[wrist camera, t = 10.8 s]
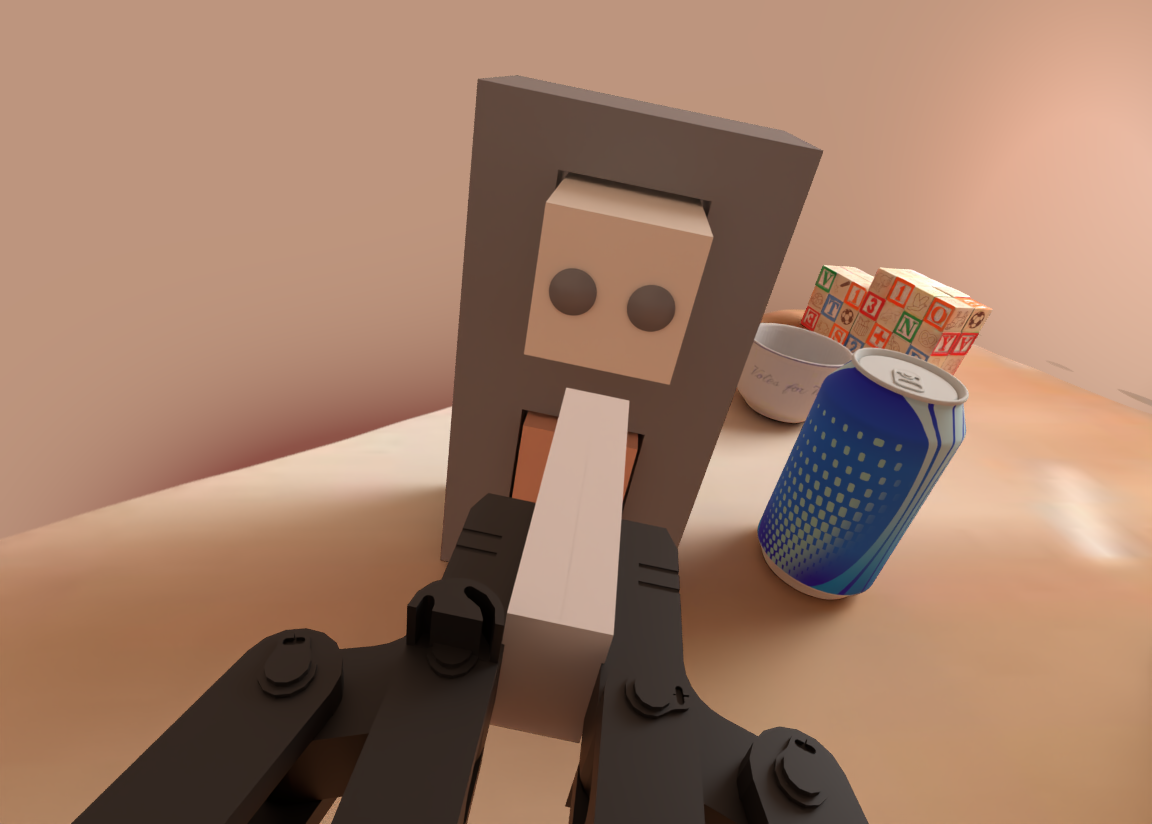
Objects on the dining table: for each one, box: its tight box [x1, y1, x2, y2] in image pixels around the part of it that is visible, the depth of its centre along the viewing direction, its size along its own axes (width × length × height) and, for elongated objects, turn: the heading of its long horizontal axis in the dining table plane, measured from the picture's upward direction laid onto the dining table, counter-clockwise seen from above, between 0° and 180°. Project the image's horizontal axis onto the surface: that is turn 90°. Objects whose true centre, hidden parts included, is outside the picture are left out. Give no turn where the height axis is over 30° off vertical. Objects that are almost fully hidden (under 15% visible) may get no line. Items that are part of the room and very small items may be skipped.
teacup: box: [737, 323, 853, 423], centre depth 61 cm, size 14×11×8 cm
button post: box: [441, 75, 823, 562], centre depth 34 cm, size 8×14×27 cm, turn 84°
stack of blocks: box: [801, 265, 992, 375], centre depth 78 cm, size 21×6×12 cm, turn 19°
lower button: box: [512, 411, 638, 503], centre depth 35 cm, size 8×6×6 cm
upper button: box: [524, 172, 713, 385], centre depth 26 cm, size 8×6×6 cm
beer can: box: [757, 348, 969, 599], centre depth 39 cm, size 8×8×16 cm
